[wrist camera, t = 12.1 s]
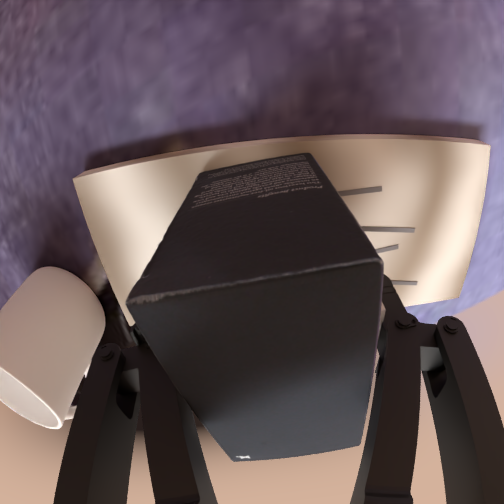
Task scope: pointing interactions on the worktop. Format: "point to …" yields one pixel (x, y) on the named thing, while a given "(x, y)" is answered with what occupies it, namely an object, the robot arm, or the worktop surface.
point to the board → (343, 179)
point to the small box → (266, 309)
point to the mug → (48, 344)
